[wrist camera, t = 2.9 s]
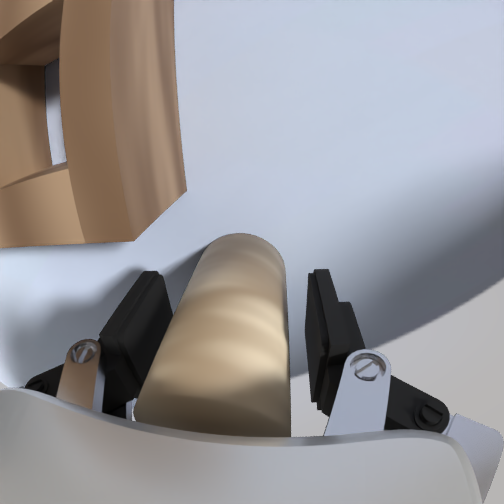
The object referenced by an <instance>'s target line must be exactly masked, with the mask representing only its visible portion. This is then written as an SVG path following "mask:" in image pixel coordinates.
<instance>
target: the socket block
mask: <svg viewBox="0 0 504 504" xmlns="http://www.w3.org/2000/svg"><path fill="white" fill-rule="evenodd" d="M58 58H59V81H60V104H61V117H62V128H63V137H64V145H65V152H66V159H67V162H64V163H60V164H57V165H53V166H52V160H51V153H50V146H49V138H48V130H47V119H46V105H45V65H47V64H49V63H50V62H52V61H54V60H56V59H58ZM186 191H187V188H186V180H185V171H184V162H183V153H182V144H181V134H180V123H179V111H178V98H177V83H176V66H175V44H174V0H0V248H11V247H27V246H45V245H64V244H84V243H106V242H129V241H135V240H136V239H137V238H138V237H139V236H140V235H141V234H142V233H143V232H144V231H145V230H146V229H147V228H148V227H149V226H150V225H151V224H152V223H153V222H154V221H155V220H156V219H157V218H158V217H159V216H160V215H161V214H162V213H163V212H164V211H165V210H166V209H168V208H169V207H170V206H171V205H172V204H173V203H174V202H175V201H176V200H177V199H178V198H179V197H181V196H182V195H183V194H184V193H185V192H186Z"/></svg>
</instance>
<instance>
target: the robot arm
mask: <svg viewBox="0 0 504 504" xmlns="http://www.w3.org/2000/svg"><path fill="white" fill-rule="evenodd" d="M172 318H173V313H172V309H171V306H170V302H169V298H168V294H167V290H166V286H165V282H164V278H163V276H162V275H159V273H158V272H157V271H144V272H143V273H142V274H141V275H140V277H139V278H138V279H137V281H136V282H135V283H134V285H133V286H132V288H131V289H130V290H129V292H128V293H127V295H126V296H125V297H124V299H123V300H122V302H121V303H120V305H119V306H118V307H117V309H116V310H115V312H114V313H113V315H112V316H111V318H110V319H109V320H108V322H107V323H106V325H105V326H104V328H103V329H102V331H101V332H100V334H99V336H100V338H99V340H98V341H96V340H93V339H85V340H81V341H79V342H77V343H76V344H74V345H73V346H72V347H71V348H70V349H69V351H68V353H67V356H66V360H65V363H64V364H62V365H60V366H58V367H55V368H53V369H51V370H48V371H46V372H44V373H42V374H39V375H37V376H35V377H33V378H31V379H30V380H29V381H28V383H27V384H26V386H25V388H24V387H23V386H22V387H20V388H4V389H0V504H483V503H484V500H485V498H486V496H487V493H488V491H489V489H490V486H491V483H492V481H493V478H494V475H495V473H496V470H497V467H498V464H499V461H500V458H501V454H502V451H503V446H504V441H503V437H502V435H501V434H500V432H498V431H496V430H495V429H493V428H490V427H488V426H485V425H483V424H480V423H478V422H475V421H473V420H471V419H468V418H466V417H464V416H461V415H459V414H457V413H456V414H455V416H452V415H450V413H449V411H448V408H447V407H446V406H445V404H444V403H443V402H441V401H440V400H438V399H436V398H434V397H432V396H430V395H428V394H426V393H424V392H423V391H421V390H419V389H417V388H415V387H413V386H411V385H409V384H407V383H405V382H403V381H402V380H399V379H398V378H396V377H394V376H392V375H391V365H390V363H389V361H388V359H387V358H386V357H385V356H384V355H383V354H381V353H379V352H378V351H374V350H368V349H365V345H364V342H363V339H362V336H361V333H360V330H359V326H358V323H357V320H356V317H355V314H354V311H353V308H352V306H351V303H350V302H339V301H338V298H337V295H336V291H335V288H334V285H333V282H332V278H331V275H330V272H329V269H314V272H313V273H309V274H308V290H307V306H306V320H305V339H306V349H307V359H308V370H309V381H310V393H311V402H317V410H322V413H324V414H325V415H327V416H328V417H329V419H328V423H327V426H326V429H325V432H324V435H323V436H314V437H242V436H228V435H216V434H206V433H198V432H190V431H183V430H177V429H171V428H165V427H160V426H154V425H149V424H145V423H140V422H136V421H132V401H131V400H133V399H134V398H138V397H139V394H140V392H141V389H142V387H143V384H144V382H145V380H146V377H147V375H148V372H149V370H150V368H151V365H152V363H153V361H154V358H155V356H156V354H157V351H158V349H159V347H160V344H161V342H162V340H163V338H164V335H165V333H166V331H167V329H168V326H169V324H170V322H171V320H172Z"/></svg>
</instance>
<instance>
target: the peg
mask: <svg viewBox="0 0 504 504" xmlns="http://www.w3.org/2000/svg"><path fill="white" fill-rule="evenodd" d="M133 414H134V417H135V420H136V422H140V423H145V424H149V425H154V426H160V427H165V428H171V429H177V430H183V431H190V432H198V433H206V434H216V435H228V436H242V437H291V396H290V357H289V330H288V308H287V288H286V271H285V265H284V261H283V259H282V257H281V255H280V253H279V252H278V251H277V250H276V248H275V247H274V246H273V245H271V244H270V243H269V242H267V241H266V240H264V239H262V238H260V237H257V236H254V235H251V234H245V233H235V234H229V235H225V236H222V237H220V238H218V239H216V240H215V241H213V242H212V243H211V244H210V245H209V246H208V247H207V248H206V249H205V250H204V252H203V254H202V256H201V258H200V260H199V262H198V264H197V266H196V268H195V270H194V272H193V275H192V277H191V279H190V281H189V283H188V285H187V287H186V289H185V291H184V294H183V296H182V298H181V300H180V302H179V304H178V307H177V309H176V311H175V313H174V315H173V318H172V320H171V322H170V324H169V326H168V329H167V331H166V333H165V335H164V338H163V340H162V342H161V344H160V347H159V349H158V351H157V354H156V356H155V358H154V361H153V363H152V365H151V368H150V370H149V372H148V375H147V377H146V380H145V382H144V384H143V387H142V389H141V392H140V394H139V397H138V399H137V402H136V404H135V407H134V411H133Z"/></svg>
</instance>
